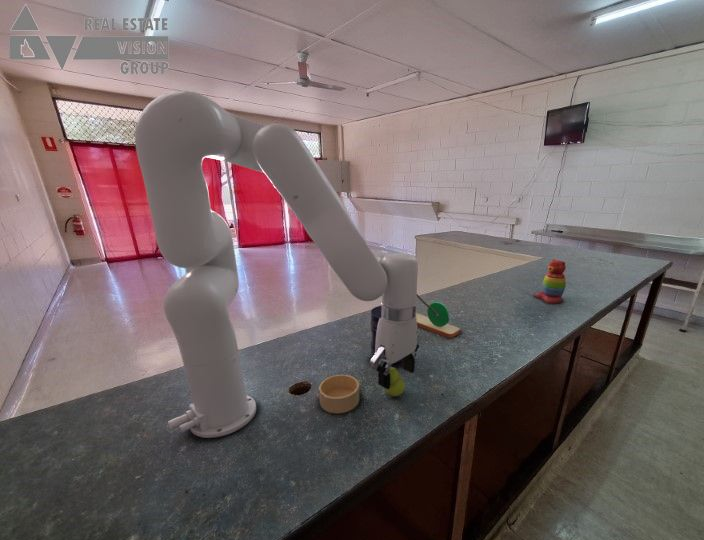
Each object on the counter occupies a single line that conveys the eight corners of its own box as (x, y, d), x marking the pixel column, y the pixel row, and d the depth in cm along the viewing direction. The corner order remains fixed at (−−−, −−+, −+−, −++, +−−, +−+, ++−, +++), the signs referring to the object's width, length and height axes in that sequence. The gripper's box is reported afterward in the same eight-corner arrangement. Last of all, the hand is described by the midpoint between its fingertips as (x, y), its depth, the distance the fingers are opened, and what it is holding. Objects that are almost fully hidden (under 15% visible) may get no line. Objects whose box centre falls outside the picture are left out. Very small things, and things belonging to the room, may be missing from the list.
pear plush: (399, 403, 74) (388, 378, 69) (384, 395, 77) (373, 371, 72) (411, 388, 76) (401, 363, 72) (396, 381, 79) (386, 357, 75)
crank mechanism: (394, 317, 119) (395, 267, 112) (405, 312, 124) (407, 264, 117) (450, 338, 104) (455, 282, 97) (461, 332, 109) (466, 278, 102)
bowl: (337, 419, 68) (336, 404, 66) (312, 401, 73) (310, 386, 72) (367, 399, 74) (367, 385, 73) (342, 383, 80) (341, 370, 78)
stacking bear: (532, 295, 146) (539, 258, 140) (550, 294, 149) (558, 257, 143) (549, 304, 137) (558, 264, 130) (568, 302, 139) (577, 262, 133)
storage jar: (367, 366, 87) (366, 317, 82) (374, 349, 96) (374, 303, 91) (402, 370, 86) (404, 320, 81) (407, 352, 95) (408, 306, 90)
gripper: (410, 296, 78) (407, 358, 84) (357, 317, 65) (359, 388, 71) (435, 304, 73) (430, 369, 79) (383, 328, 61) (383, 403, 67)
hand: (396, 378), depth 75 cm, fingers open, 8 cm apart
